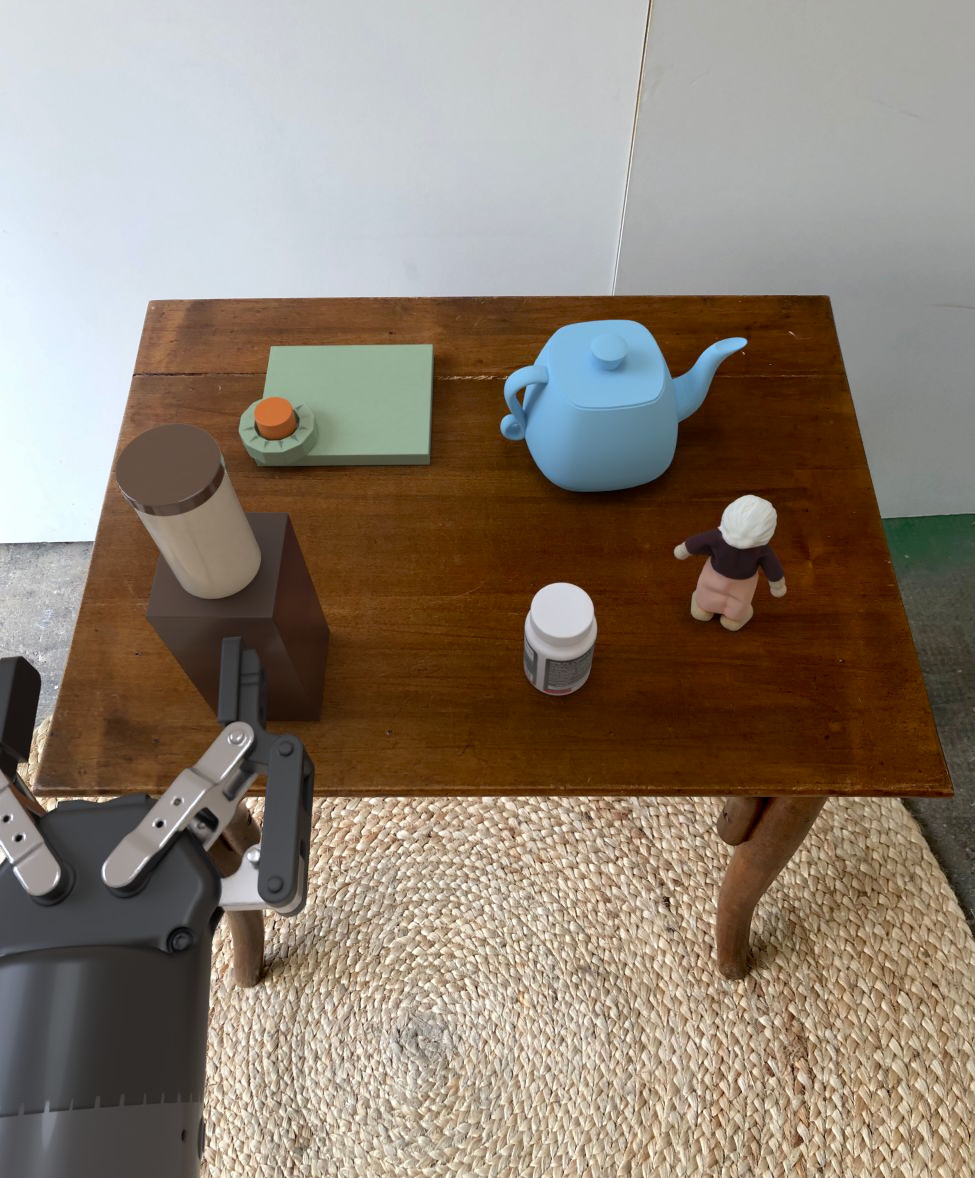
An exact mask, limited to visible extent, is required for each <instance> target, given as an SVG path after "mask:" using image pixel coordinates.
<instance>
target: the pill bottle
mask: <svg viewBox="0 0 975 1178" xmlns="http://www.w3.org/2000/svg"><path fill="white" fill-rule="evenodd" d="M524 622H525V623H524V629H523V630H524V641H523V669H524V674H525V676H526V678H527V680H528V681H529V683H530V684H531V685H532V686H533V687H534V688H535V689H537V690H538V691H540V692H542V693H544V694H547V695H549V696H564V695H569V694H572V693H574V692H576V691H577V690H578V689H580V688H581V687H582V686H583V685H584V684H585V683H586V681H587V680H588V678H589V675H590V673H591V668H592V662H593V657H594V653H595V646H596V642H597V641H596V640H597V634H598V624H597V619H596V615H595V608H594V603H593V601H592V599H591V597H590V595H589V594H588V593H587V592H586V591H585V590H583V589H582V588H581V587H579V586H577V585H575V584H573V583H569V582H555V583H550V584H548V585H545V586H544V587H542V588H541V589H540V590H539V591H537V592H536V594H535V595H534V597H533V598H532V600H531V603H530V610H529V611H528V613H527V615H526V618H525V621H524Z"/></svg>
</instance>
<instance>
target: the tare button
mask: <svg viewBox="0 0 975 1178" xmlns="http://www.w3.org/2000/svg"><path fill="white" fill-rule="evenodd" d="M254 417H255V420H256V423H257V426H258V429H259V431H260V433H261V435H262V436H264V437H265V438H267V439H270V440H281V439H284V438H286V437H288V436H290V435H291V434H292V433H293V432H294V430H295V428H296V419H295V415H294V412H293V408H292V406H291V404H290V403H289V402H288V401H287V400H286V399H284V398H280V397H271V398H267V399H265V400H263V401H261V402H260V403H259V404H258V405H257V406H256V408H255V410H254Z"/></svg>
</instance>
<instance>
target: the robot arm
mask: <svg viewBox="0 0 975 1178" xmlns="http://www.w3.org/2000/svg"><path fill="white" fill-rule="evenodd" d="M267 687H268V675H267V672H266V670H265V668H264V665H263V663H262V661H261V660H260V658H259V656H258V654H257V652H256V650H255V649H249V647H248V646H247V644H246V642H245V640H244V638H243V637H242V636H240V637H229V638H223V640H222V651H221V668H220V685H219V702H218V718H217V721H216V722H217V724H218V725H219V727H220V728H221V729H222V731H221V733H219V735H218V736H217V738H216V739H215V740H214V741H213V742H212V744H211V745H210V746H209V748H208V749H207V750H206V751H205V752H204V754H202V756H201V757H200V758H199V760H198V761H197V762H196V763H195V764H194V765H192V766H189V767H186V768H184V769H183V770H182V771H181V772H180V773H179V774H178V776H176V778H175V779H174V780H173V782H172V783H171V784H170V785H169V787H168V788H167V789H166V790H165V792H164V793H163V794H162V795H161V797H160V798H159V799H158V798H154V797H152V796H151V795H149V793H147V792H139V793H130V794H123V795H120V796H117V797H114V798H111V799H109V800H106V801H101V802H99V801H91V800H86V799H81V798H80V799H79V798H78V799H70V800H58V801H57V805H56V807H55V808H53V809H51V810H49V811H48V810H46V809H45V808H44V807H43V806H42V805H41V804H40V802H39V801H38V800H37V798H36V797H35V795H34V794H33V792H32V790H30V788H29V786H28V785H27V783H26V782H25V781H24V779H23V778H22V776H21V775H20V773H19V772H18V767H19V764H28V763H29V761H30V755H31V749H32V743H33V737H34V731H35V725H36V721H37V720H36V719H37V714H38V709H39V702H40V695H41V692H42V691H41V690H42V677H41V674H40V672H39V670H38V669H36V667H34V666H33V664H31V662H29V660H27V659H26V658H25V656H23V655H17V656H6V657H1V658H0V849H1V851H2V852H3V854H4V856H5V858H4V859H3V860H2V862H1V863H0V1178H201V1164H202V1159H203V1155H204V1153H205V1149H206V1141H207V1140H206V1139H207V1138H206V1137H207V1123H206V1122H205V1116H204V1108H205V1092H206V1091H205V1090H206V1070H207V1054H208V1053H207V1052H208V1035H209V1031H208V1030H209V1019H210V1018H209V1015H210V999H211V998H210V997H211V980H212V964H213V963H212V960H213V959H212V958H213V957H212V955H213V953H212V952H213V942H214V941H213V940H214V938H215V933H216V931H217V928H218V926H219V924H220V921H221V920H222V918H223V917H224V915H225V913H226V912H237V911H239V912H240V911H263V910H272V911H274V912H275V913H276V914H277V915H279V916H281V917H282V918H293V917H296V916H298V915H299V914H300V913H302V911H304V909H305V907H306V905H307V901H308V885H309V872H310V871H309V870H310V869H309V868H310V855H311V854H310V853H311V839H312V823H313V806H314V794H315V793H314V789H315V777H316V776H315V775H316V767H315V764H314V762H313V760H312V759H311V756H310V754H309V752H308V751H307V748H306V747H305V744H304V743H303V741H302V740H301V738H300V737H299V736H298V735H296V734H293V733H283V734H281V735H280V734H276V733H272V732H269V731H267V723H268V722H267V721H268V720H267ZM260 775H262V776H266V783H265V784H266V785H265V786H266V787H265V795H264V796H265V797H264V806H263V807H264V808H263V817H262V818H263V819H262V827H261V828H262V830H261V838H260V843H256V844H254V845H252V846H250V847H249V848H247V849H246V851H245V852H244V854H243V856H242V859H241V863H240V866H239V867H238V868H237V870H236V872H234V873H233V874H231V875H230V876H228V877H225V875H224V874H223V872H222V871H221V870H220V868H219V867H218V865H217V864H216V863H215V861H214V860H213V858H212V857H211V856H210V855H209V853H208V852H209V851H210V849H211V847H212V846H213V845H214V843H216V841H217V840H218V838H219V837H220V836H221V834H222V833H223V832H224V831H225V829H226V828H227V827H228V825H229V824H230V822H231V821H232V820H233V818H234V817H235V815H236V812H237V809H238V805H239V803H240V801H241V800H242V798H243V797H244V796H245V795H246V794H247V792H248V791H249V789H250V788H251V787H252V785H253V784H254V783H255V782H256V781H257V779H258V778H259V776H260Z"/></svg>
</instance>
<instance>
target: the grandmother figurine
mask: <svg viewBox="0 0 975 1178" xmlns="http://www.w3.org/2000/svg"><path fill="white" fill-rule="evenodd" d="M777 518H778V514H777V510H776V508H774V507H773V504H772V503H771V502H770V501H768V500H766V499H764V498H761V497H759V496H755V495H753V494H747V495H743V496H741V497H739V498H737V499H735V500H734V501H733V502H731V503H730V504H728V505H727V507H726V508H725V509H724V511H723V513H722V516H721V521H720V525H719V526H718V527H717V529H711V530H707V531H702V532H699V533H697V534H695V535H691V536H689V537H687V538H686V539H685V540H684V542H682V543H681V544H678V545H677V546H675V548H674V549H673V554H674V557H675V558H676V559H678V560H680V561H683V560H686V559H687V558H689V557H691V556H707V557H708V558H707V559H706V561H705V563H704V565H703V567H702V570H701V572H700V575H699V578H698V580H697V583H696V584H697V585H696V589H695V590H694V591H693V592H692V595H691V606H690V613H691V616H692V617H693V618H694V619H696V620H698V621H701V622H708V621H711V619H713V617H714V615H715V614H721V615H720V618H719V621H720V624H721V625H722V627H724V628H725V629H727V630H728V631H732V632H735V631H738V630H739V629H741V628H742V627H743V626H745V624H747V623H748V622H749V621H750V620H751V619H752V617H753V615H754V609H753V606H752V602H753V598H754V594H755V592H756V589H757V586H758V585H757V584H758V581H759V577H760V576H759V567H760V568H761V570H762V572H763V574H764V576H765V577H766V579H767V582H768V585H769V587H770V588H769V589H770V593H771V595H772V596H773V597H774V598H775V597H776V598H781V597H783V596H784V595H785V594H787V585H786V580H785V575H786V573H785V570H784V568H783V566H782V564H781V562H780V560H779V558H778V556H777V555H776V553H775V551H774V550H773V548H772V547H771V546H770V545H769V544H768V543H769V542H770V540H771V538H772V537H773V536H774V534H775V530H776V527H777Z"/></svg>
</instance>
